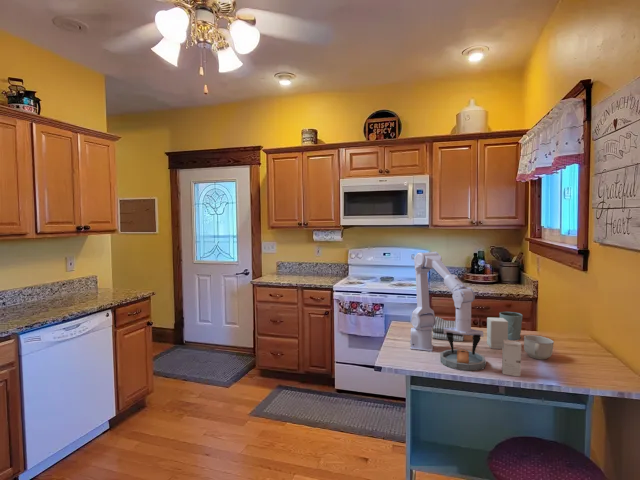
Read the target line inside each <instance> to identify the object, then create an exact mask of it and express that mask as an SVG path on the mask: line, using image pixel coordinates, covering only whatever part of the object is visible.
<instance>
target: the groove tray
mask: <svg viewBox="0 0 640 480" xmlns="http://www.w3.org/2000/svg"><path fill="white" fill-rule="evenodd" d="M453 350H454V352H453V353H452V351H451V349H445V350H443V351H441V352H440V353H439V354H440V358H439V359H440V361H439V362H440V363H441V364H442V365H443V366H445V367H447V368H450V369H452V370H457V371H464V372H473V371H474V372H475V371H481V370H483V369H485V367H486V363H487V362H486V357H485V356H484V355H483V354H480V353H479V352H475V355H473V354H472V350H469V349H467V350H466V349H465V350H466V351H468V352H469V364H466V363H457V350H459V349H457V348H456V349H455V348H453Z"/></svg>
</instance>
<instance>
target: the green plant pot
mask: <svg viewBox="0 0 640 480" xmlns="http://www.w3.org/2000/svg"><path fill="white" fill-rule="evenodd" d="M499 318H504V319H505V320H506V321H508V340H512V341H519V340H521V333H522V322H523V314H522V313H520V312H515V311H500V312H499Z"/></svg>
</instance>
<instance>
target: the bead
mask: <svg viewBox="0 0 640 480" xmlns="http://www.w3.org/2000/svg"><path fill="white" fill-rule="evenodd" d="M468 351H469V350H468ZM468 351H466V349H458V350H457V363H466V364H469V352H468Z"/></svg>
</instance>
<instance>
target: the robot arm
mask: <svg viewBox="0 0 640 480" xmlns="http://www.w3.org/2000/svg"><path fill="white" fill-rule="evenodd" d="M442 260H443V259H442V256H441V254H440V253H439V252H438V251H432V252H431V251H430V252H418V253H416V255H415V256H414V271H415V286H416V287H415V289H416V308H415V309H414V310H413V311H412V312H411V314H412V316H411V325H412V327H411V328H410V342H409V344H410V349H411V350H416V351H417V350H418V351H426V352H427V351H429V352H433V350H434V349H433V348H434V345H433V336H432V335H433V331H432V329H433V326H435V324H436V318H435V317H436V316H435V311H434V309H432V308H431V306H430V294H429V292H430V291H429V275H428V273H429V272H430V271H431V270H433V269H434V270H435V271H436V273H438V275H439V276H440V277H441V278H442V279H443V284H444V285H445V287H446V289H448V291H450V293H451V294H452V295H451V296H452V300H453V303H454V304H453V305H454V307H455V321H456V323H455V328H444V334H447V338H448V340H447V341H448V342H449V346H450V350H451V351H452V353H453V352H454V350H453V349H454V341H453V334H460V335H464V336H472V349H471V351H472V354H473V355H475V353H476V350H477V347H478V344H479V343H480V340H481V338H484V330H481V329H480V330H479V329H473V328H472V303H473V302H474V301H475V297H476V295H475V291H474V289H473V288H471V287H470V286H469V287H468V286H465V284H464V283H463V282H462V280H461V279H459V277H458V275H456V274H451V272H450V271H449V269H448V268H447V266H446V265H445V263H443V261H442Z"/></svg>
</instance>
